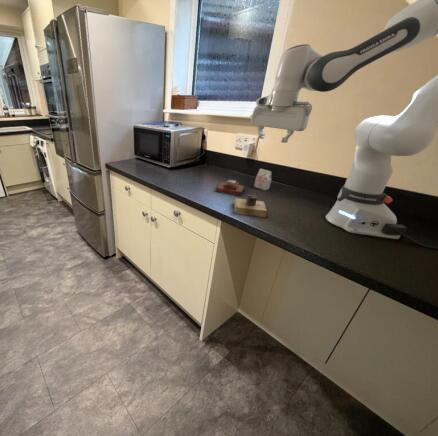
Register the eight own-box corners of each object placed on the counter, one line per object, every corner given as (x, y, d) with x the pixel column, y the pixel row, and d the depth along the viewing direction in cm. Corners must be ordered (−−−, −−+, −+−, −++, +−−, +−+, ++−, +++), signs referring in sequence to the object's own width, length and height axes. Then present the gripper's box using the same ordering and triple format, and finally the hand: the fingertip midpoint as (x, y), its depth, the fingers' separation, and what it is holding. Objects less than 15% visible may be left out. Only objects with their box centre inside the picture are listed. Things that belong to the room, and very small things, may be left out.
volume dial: (254, 202, 102) (256, 194, 100) (255, 206, 98) (258, 198, 97) (245, 201, 103) (247, 193, 101) (245, 205, 99) (247, 197, 98)
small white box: (257, 185, 130) (262, 167, 125) (268, 189, 125) (273, 171, 121) (253, 186, 128) (257, 168, 124) (264, 190, 123) (269, 172, 119)
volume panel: (262, 207, 105) (263, 201, 103) (265, 217, 96) (267, 210, 95) (234, 204, 108) (235, 197, 106) (234, 213, 99) (236, 206, 98)
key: (235, 183, 122) (236, 180, 121) (234, 186, 119) (234, 182, 118) (228, 182, 123) (229, 179, 122) (227, 184, 120) (227, 181, 119)
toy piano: (243, 189, 124) (245, 182, 122) (240, 196, 116) (241, 188, 114) (220, 185, 129) (221, 179, 127) (216, 191, 121) (217, 184, 119)
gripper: (318, 102, 78) (304, 144, 84) (262, 99, 93) (253, 135, 99) (309, 101, 75) (295, 146, 81) (252, 99, 89) (244, 137, 96)
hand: (272, 140), depth 90 cm, fingers open, 8 cm apart
